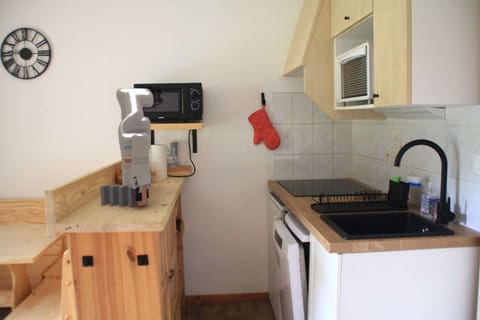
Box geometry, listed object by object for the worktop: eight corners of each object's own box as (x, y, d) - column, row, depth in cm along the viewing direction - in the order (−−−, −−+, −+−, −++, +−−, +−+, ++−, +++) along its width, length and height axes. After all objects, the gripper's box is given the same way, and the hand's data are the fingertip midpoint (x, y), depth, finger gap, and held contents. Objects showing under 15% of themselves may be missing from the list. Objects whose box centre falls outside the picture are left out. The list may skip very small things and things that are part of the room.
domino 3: (119, 206, 170) (118, 187, 169) (125, 204, 175) (124, 185, 174) (122, 206, 170) (121, 187, 169) (128, 204, 175) (128, 185, 174)
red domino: (137, 205, 167) (137, 186, 166) (143, 203, 172) (143, 184, 171) (141, 205, 167) (140, 186, 166) (147, 203, 171) (146, 184, 170)
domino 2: (110, 205, 172) (109, 186, 171) (116, 203, 177) (115, 185, 176) (113, 205, 171) (112, 187, 170) (119, 203, 176) (119, 185, 175)
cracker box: (134, 198, 188) (133, 158, 186) (123, 197, 189) (122, 157, 187) (146, 193, 202) (145, 155, 200) (136, 192, 203) (135, 155, 201)
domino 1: (101, 205, 173) (100, 186, 172) (107, 202, 178) (107, 184, 177) (104, 205, 173) (103, 186, 172) (111, 203, 177) (110, 184, 177)
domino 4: (128, 206, 169) (127, 187, 168) (134, 204, 174) (133, 186, 173) (131, 207, 168) (131, 188, 167) (137, 204, 173) (137, 186, 172)
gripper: (143, 158, 176) (145, 195, 178) (122, 162, 160) (124, 203, 162) (157, 159, 174) (158, 196, 176) (137, 163, 158) (139, 204, 160)
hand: (142, 199), depth 169 cm, fingers closed on red domino, 4 cm apart
